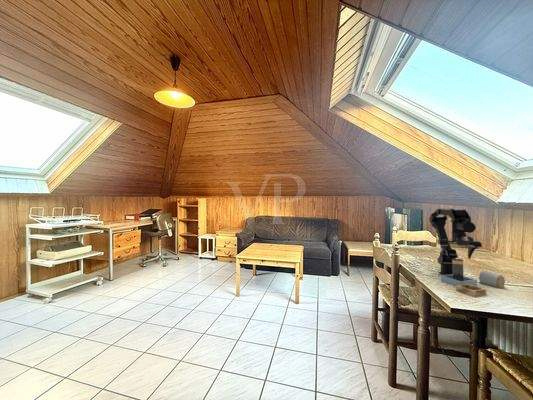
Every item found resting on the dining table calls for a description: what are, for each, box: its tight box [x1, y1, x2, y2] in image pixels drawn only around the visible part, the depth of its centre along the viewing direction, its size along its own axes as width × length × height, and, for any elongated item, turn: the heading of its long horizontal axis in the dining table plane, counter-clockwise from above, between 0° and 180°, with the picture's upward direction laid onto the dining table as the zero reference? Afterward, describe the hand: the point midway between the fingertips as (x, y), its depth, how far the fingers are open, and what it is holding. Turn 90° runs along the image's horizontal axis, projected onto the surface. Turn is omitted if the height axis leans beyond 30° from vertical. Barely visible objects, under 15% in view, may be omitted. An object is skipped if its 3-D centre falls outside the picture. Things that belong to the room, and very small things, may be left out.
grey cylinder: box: [478, 269, 506, 289], centre depth 122 cm, size 11×8×8 cm
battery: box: [452, 257, 465, 281], centre depth 123 cm, size 4×4×14 cm
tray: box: [440, 274, 478, 287], centre depth 123 cm, size 11×11×4 cm
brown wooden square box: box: [454, 284, 488, 298], centre depth 111 cm, size 9×9×4 cm
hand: (458, 257), depth 130 cm, fingers open, 9 cm apart
